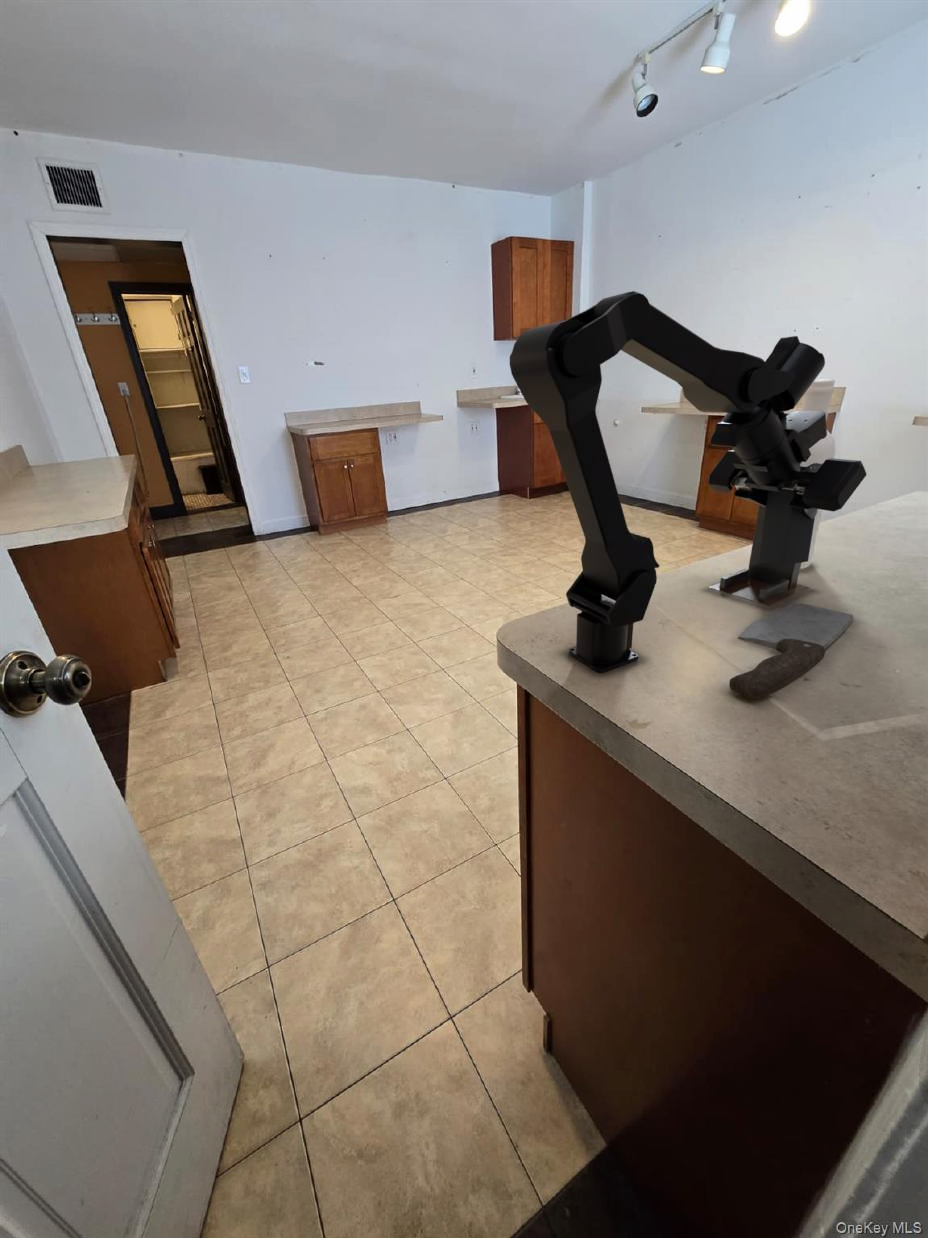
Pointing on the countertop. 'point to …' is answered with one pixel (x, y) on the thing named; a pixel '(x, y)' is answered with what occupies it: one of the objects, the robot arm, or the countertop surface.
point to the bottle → (825, 448)
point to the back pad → (785, 531)
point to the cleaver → (789, 645)
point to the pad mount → (762, 575)
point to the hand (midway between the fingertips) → (798, 513)
